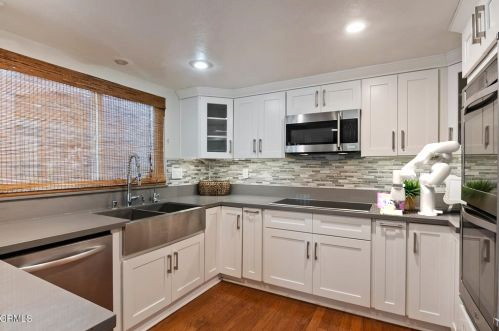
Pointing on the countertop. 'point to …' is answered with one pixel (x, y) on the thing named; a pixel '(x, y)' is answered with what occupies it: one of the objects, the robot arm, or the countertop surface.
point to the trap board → (391, 211)
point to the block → (390, 207)
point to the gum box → (387, 201)
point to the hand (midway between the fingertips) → (397, 209)
